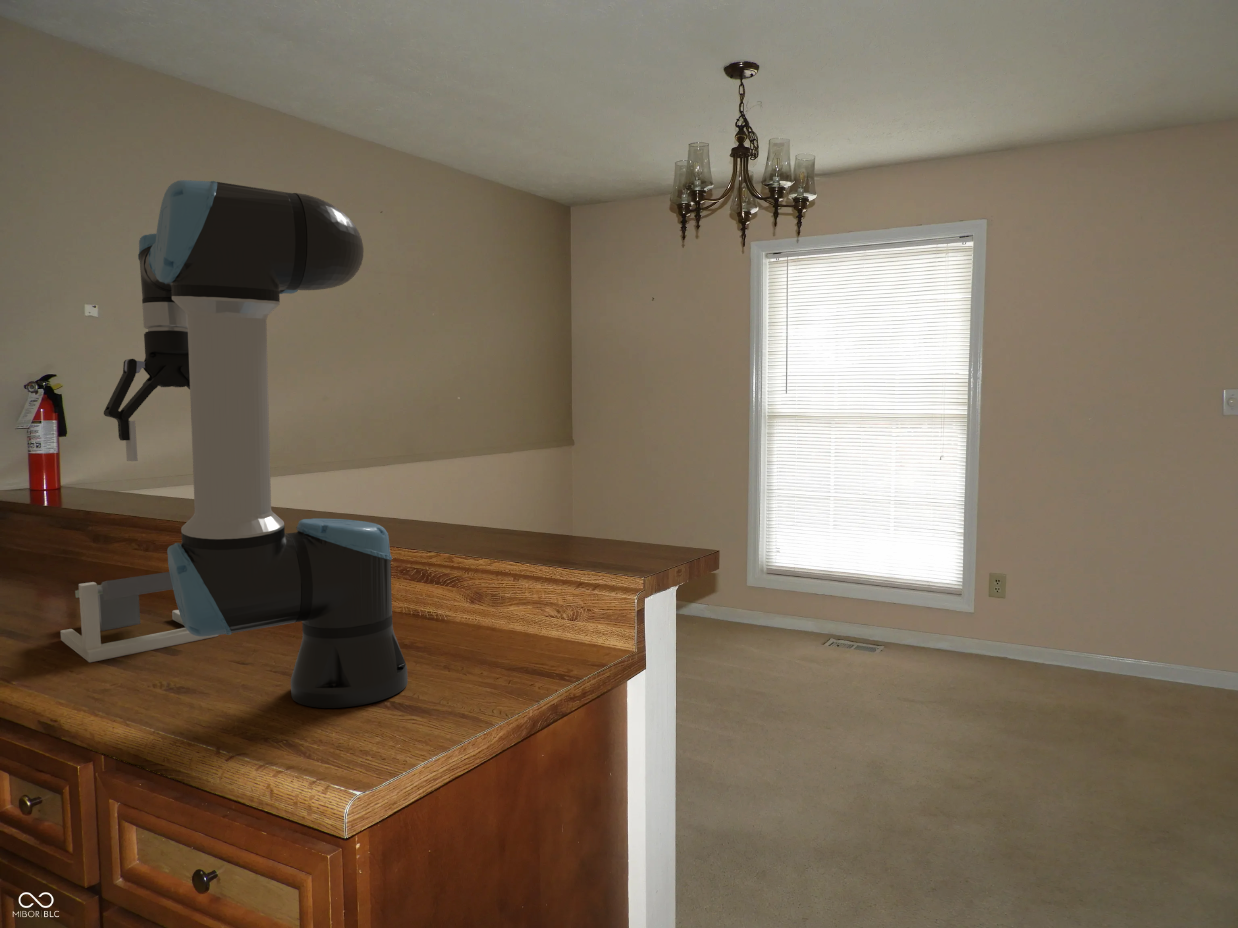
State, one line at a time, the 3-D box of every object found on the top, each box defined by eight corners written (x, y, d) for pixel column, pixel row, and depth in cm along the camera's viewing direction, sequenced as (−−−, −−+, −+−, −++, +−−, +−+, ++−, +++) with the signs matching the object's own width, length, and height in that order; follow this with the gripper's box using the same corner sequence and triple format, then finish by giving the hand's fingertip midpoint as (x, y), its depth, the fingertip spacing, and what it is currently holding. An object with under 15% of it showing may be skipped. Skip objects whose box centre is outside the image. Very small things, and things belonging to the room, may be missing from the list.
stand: (218, 635, 139) (214, 568, 138) (89, 662, 126) (84, 587, 125) (182, 617, 151) (178, 555, 150) (61, 640, 138) (56, 571, 137)
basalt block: (127, 580, 151) (130, 618, 152) (90, 586, 147) (92, 624, 148) (138, 585, 147) (140, 623, 148) (99, 591, 143) (102, 631, 143)
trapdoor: (202, 584, 136) (199, 567, 136) (105, 599, 126) (103, 581, 126) (167, 590, 149) (165, 575, 149) (76, 605, 139) (74, 589, 139)
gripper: (236, 336, 149) (242, 454, 150) (76, 328, 131) (84, 462, 132) (254, 333, 144) (260, 454, 145) (90, 324, 126) (99, 463, 127)
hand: (177, 458), depth 139 cm, fingers open, 13 cm apart
